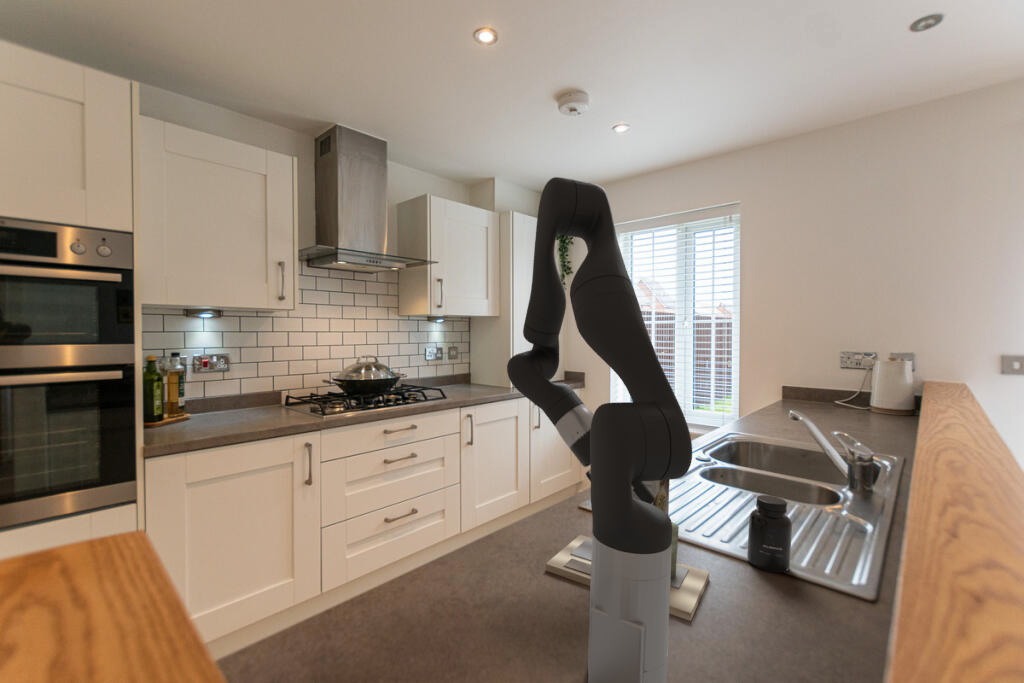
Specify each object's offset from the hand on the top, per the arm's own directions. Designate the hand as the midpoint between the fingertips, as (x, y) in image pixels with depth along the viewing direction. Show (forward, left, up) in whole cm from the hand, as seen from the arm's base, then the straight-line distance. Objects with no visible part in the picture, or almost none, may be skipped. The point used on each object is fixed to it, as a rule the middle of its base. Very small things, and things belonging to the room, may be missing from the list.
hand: (643, 510), depth 80 cm
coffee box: (+23, +6, -11) cm, 26 cm away
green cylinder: (0, -3, -10) cm, 10 cm away
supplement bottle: (+17, -18, -11) cm, 27 cm away
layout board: (-2, +2, -11) cm, 11 cm away
